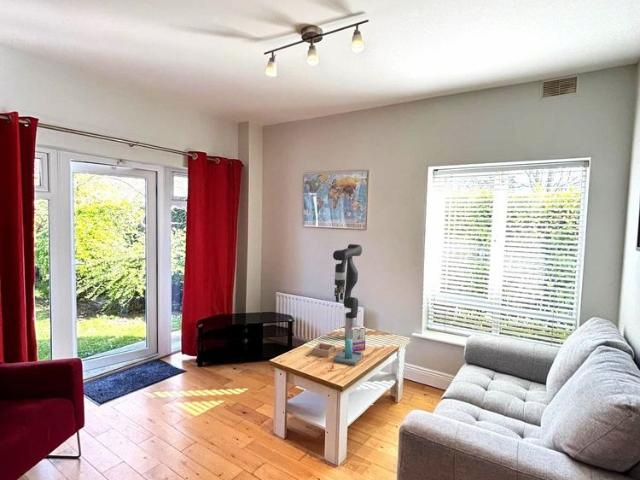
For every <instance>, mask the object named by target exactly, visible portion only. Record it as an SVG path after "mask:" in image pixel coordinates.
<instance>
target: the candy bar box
mask: <svg viewBox="0 0 640 480" xmlns="http://www.w3.org/2000/svg"><path fill="white" fill-rule="evenodd" d="M349 339H352V351H356V352H361V351H365V350H366V327H365V326H364V325H363V326H362V325H361V326H360V325H359V326H357V327H351V328H349Z"/></svg>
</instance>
